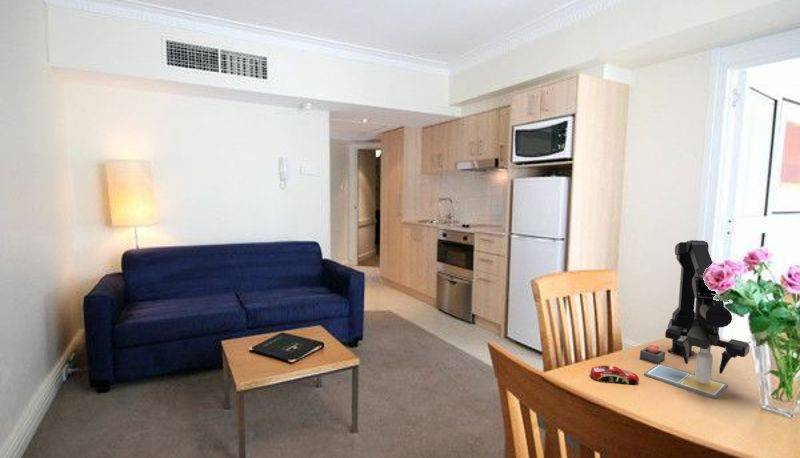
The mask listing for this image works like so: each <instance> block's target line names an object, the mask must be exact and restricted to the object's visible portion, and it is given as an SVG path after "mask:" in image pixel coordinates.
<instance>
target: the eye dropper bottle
mask: <svg viewBox="0 0 800 458" xmlns="http://www.w3.org/2000/svg"><path fill="white" fill-rule="evenodd" d="M711 348H712V346H709V348H708V349H702V348H700V347H699V351H698V352H697V354H696V358H695V359H696V360H695V371H694V374H695V381H697V382H700V383H704V384H705V383H709V382H710V381H711V379H712V373H713V372H712V369H713V361H714V360H713V358H714V356H713V354H712V353H711Z"/></svg>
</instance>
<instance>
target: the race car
mask: <svg viewBox="0 0 800 458" xmlns="http://www.w3.org/2000/svg"><path fill="white" fill-rule="evenodd" d="M589 374H590V376H591V378H592V379H593V380H595V381H599V382H601V383H615V384H627V385H628V384H629V385H630V386H631V385H633V386H635V385H636V384H638V383H639V380H640V379H639V376H638V375H637V374H636V373H635V372H632V371H631V370H630V371H629V370H625V369H621V368H619V367H617V366H616V365H615V366H614V365H606V364H605V365H598V366H593V367H592V368H591V369H590V373H589Z"/></svg>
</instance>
